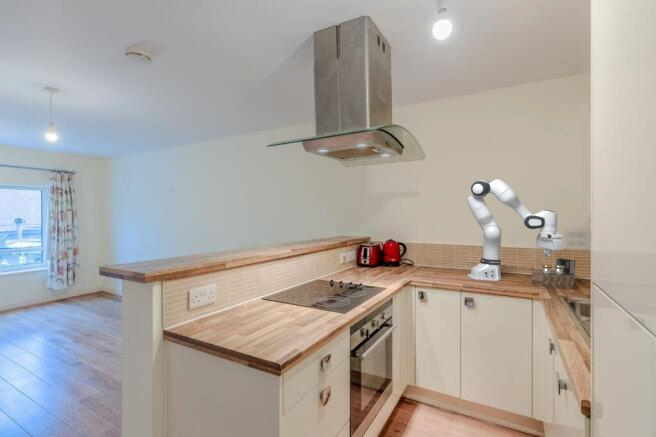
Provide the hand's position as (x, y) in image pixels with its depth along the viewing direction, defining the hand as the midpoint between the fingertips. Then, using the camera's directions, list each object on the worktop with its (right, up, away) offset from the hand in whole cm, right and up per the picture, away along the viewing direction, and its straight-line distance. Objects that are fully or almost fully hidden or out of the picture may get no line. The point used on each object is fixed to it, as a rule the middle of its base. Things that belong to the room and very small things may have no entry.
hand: (547, 255), depth 202 cm
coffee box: (+21, -20, +13) cm, 32 cm away
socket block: (+3, -20, +1) cm, 21 cm away
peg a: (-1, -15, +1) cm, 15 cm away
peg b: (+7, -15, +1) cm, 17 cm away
